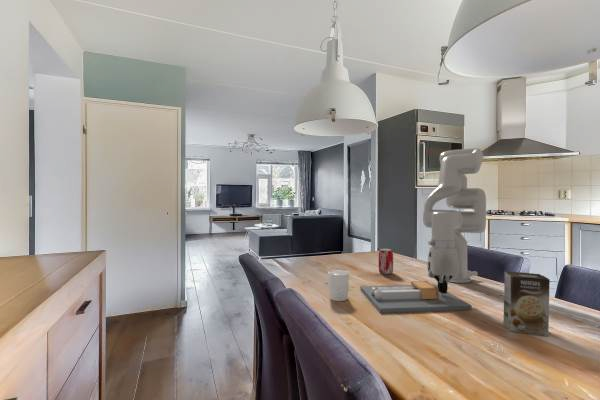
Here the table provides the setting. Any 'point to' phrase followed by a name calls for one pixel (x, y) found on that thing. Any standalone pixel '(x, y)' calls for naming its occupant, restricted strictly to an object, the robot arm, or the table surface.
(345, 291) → the white cup
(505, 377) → the table surface
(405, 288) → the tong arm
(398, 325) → the table surface
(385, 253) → the soda can
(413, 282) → the tray
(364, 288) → the board
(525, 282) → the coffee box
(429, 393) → the table surface
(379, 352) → the table surface
